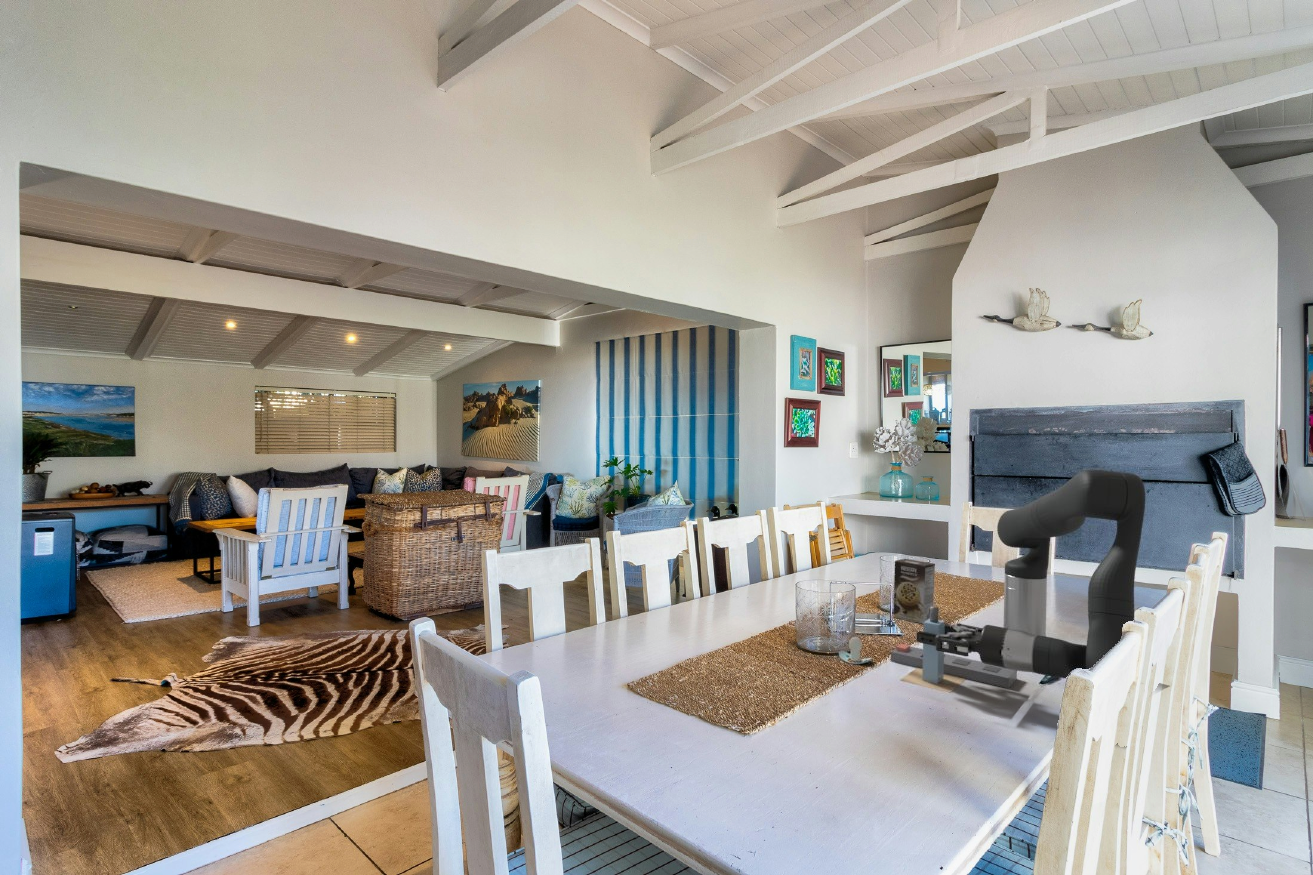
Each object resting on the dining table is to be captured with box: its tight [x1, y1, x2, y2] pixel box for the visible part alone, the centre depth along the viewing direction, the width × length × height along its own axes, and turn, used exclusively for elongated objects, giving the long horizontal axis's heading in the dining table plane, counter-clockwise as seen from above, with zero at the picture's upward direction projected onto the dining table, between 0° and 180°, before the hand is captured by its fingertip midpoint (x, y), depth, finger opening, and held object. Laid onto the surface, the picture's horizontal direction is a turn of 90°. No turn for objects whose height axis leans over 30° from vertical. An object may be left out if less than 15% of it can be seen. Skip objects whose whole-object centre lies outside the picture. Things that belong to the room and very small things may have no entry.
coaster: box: [900, 667, 966, 694], centre depth 142 cm, size 10×10×1 cm
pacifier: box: [838, 636, 873, 665], centre depth 152 cm, size 7×6×6 cm
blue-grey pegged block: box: [922, 605, 946, 684], centre depth 141 cm, size 4×3×15 cm
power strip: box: [890, 643, 1018, 689], centre depth 148 cm, size 7×24×4 cm, turn 50°
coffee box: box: [892, 558, 936, 625], centre depth 192 cm, size 9×6×16 cm
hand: (924, 631), depth 143 cm, fingers open, 8 cm apart
